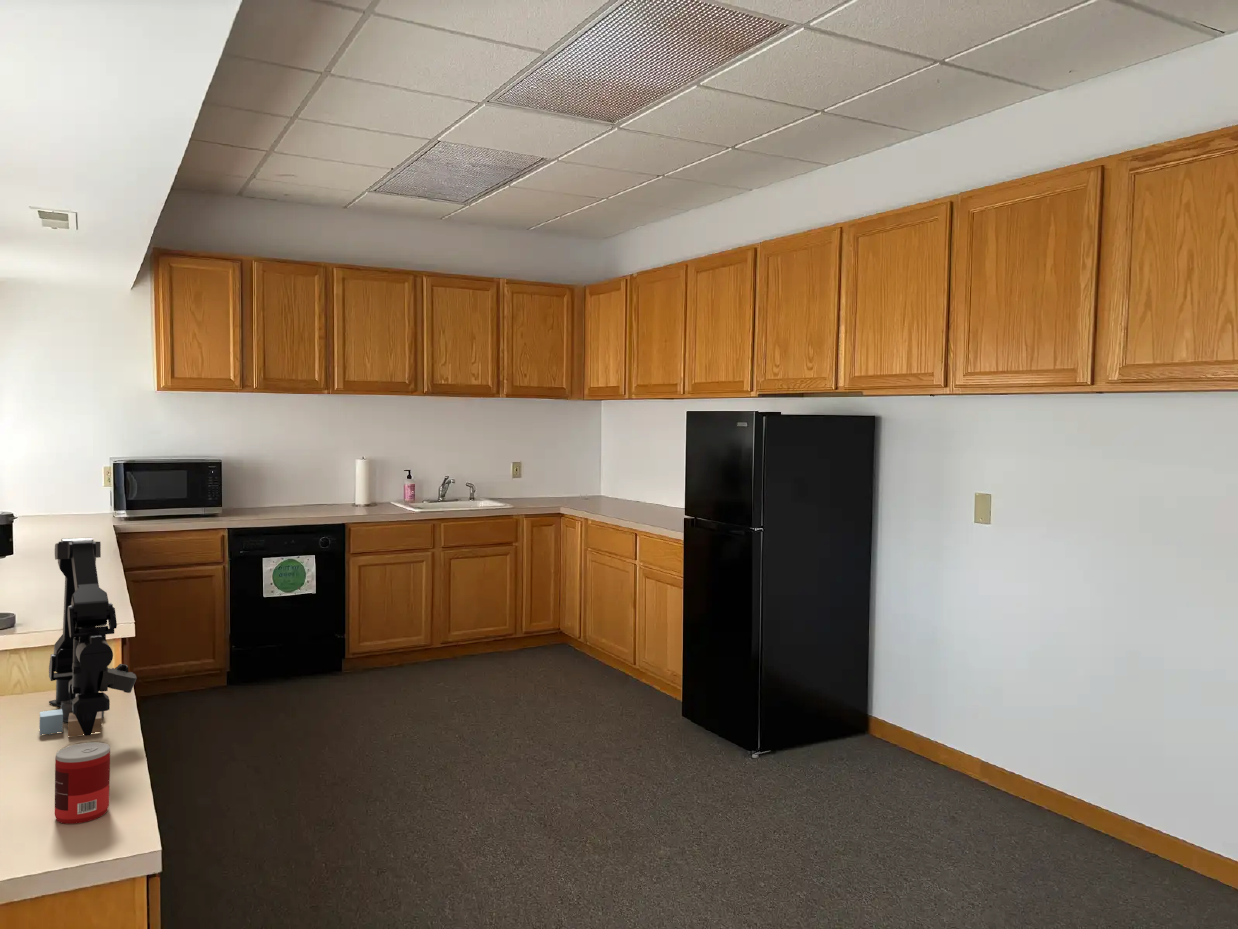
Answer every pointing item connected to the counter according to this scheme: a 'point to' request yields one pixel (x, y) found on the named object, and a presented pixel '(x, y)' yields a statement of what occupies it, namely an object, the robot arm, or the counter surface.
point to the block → (51, 721)
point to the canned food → (82, 782)
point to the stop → (69, 710)
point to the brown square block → (76, 729)
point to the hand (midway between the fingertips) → (87, 735)
